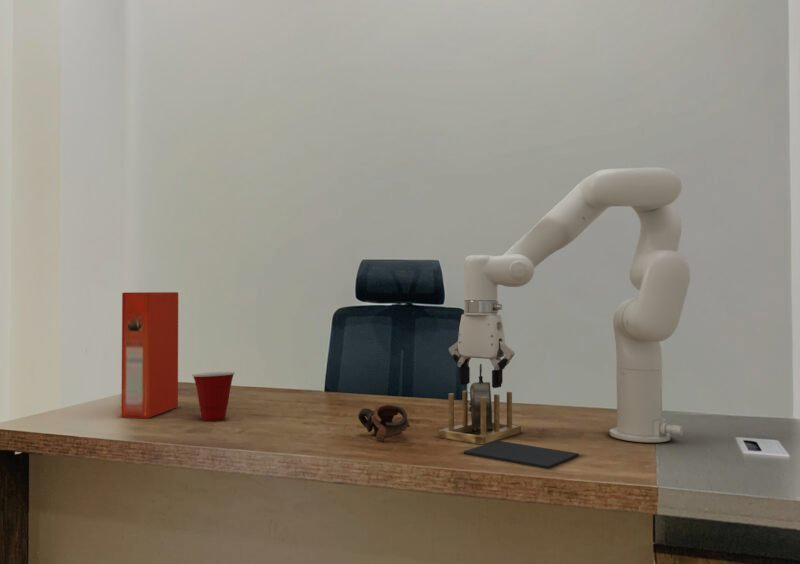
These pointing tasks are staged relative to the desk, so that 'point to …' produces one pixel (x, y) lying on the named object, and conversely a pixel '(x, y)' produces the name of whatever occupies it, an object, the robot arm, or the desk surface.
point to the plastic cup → (213, 394)
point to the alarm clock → (475, 401)
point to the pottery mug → (384, 420)
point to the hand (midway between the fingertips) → (480, 385)
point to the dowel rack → (499, 428)
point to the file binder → (149, 353)
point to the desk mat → (522, 454)
